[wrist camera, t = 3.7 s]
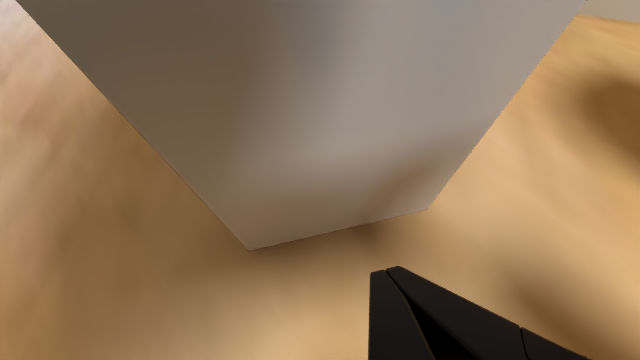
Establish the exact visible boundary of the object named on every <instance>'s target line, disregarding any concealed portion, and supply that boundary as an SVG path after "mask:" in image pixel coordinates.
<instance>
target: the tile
mask: <svg viewBox="0 0 640 360" xmlns="http://www.w3.org/2000/svg"><path fill="white" fill-rule="evenodd" d="M16 1H17V2H18V3H19V4H20V5H21V7H22V8H23V9H24V10H25V11H26V12H27V13H28V14H29V15H30V16H31V17H32V18H33V19H34V21H35V22H36V23H37V24H38V25H39V26H40V27H41V28H42V29H43V30H44V31H45V32H46V33H47V34H48V36H49V37H50V38H51V39H52V40H53V41H54V42H55V43H56V44H57V45H58V46H59V47H60V48H61V50H62V51H63V52H64V53H65V54H66V55H67V56H68V57H69V58H70V59H71V60H72V61H73V62H74V64H75V65H76V66H77V67H78V68H79V69H80V70H81V71H82V72H83V73H84V74H85V75H86V76H87V78H88V79H89V80H90V81H91V82H92V83H93V84H94V85H95V86H96V87H97V88H98V89H99V90H100V92H101V93H102V94H103V95H104V96H105V97H106V98H107V99H108V100H109V101H110V102H111V103H112V104H113V106H114V107H115V108H116V109H117V110H118V111H119V112H120V113H121V114H122V115H123V116H124V117H125V118H126V119H127V121H128V122H129V123H130V124H131V125H132V126H133V127H134V128H135V129H136V130H137V131H138V132H139V133H140V135H141V136H142V137H143V138H144V139H145V140H146V141H147V142H148V143H149V144H150V145H151V146H152V147H153V149H154V150H155V151H156V152H157V153H158V154H159V155H160V156H161V157H162V158H163V159H164V160H165V161H166V163H167V164H168V165H169V166H170V167H171V168H172V169H173V170H174V171H175V172H176V173H177V174H178V175H179V177H180V178H181V179H182V180H183V181H184V182H185V183H186V184H187V185H188V186H189V187H190V188H191V189H192V191H193V192H194V193H195V194H196V195H197V196H198V197H199V198H200V199H201V200H202V201H203V202H204V203H205V205H206V206H207V207H208V208H209V209H210V210H211V211H212V212H213V213H214V214H215V215H216V216H217V217H218V218H219V220H220V221H221V222H222V223H223V224H224V225H225V226H226V227H227V228H228V229H229V230H230V231H231V232H232V234H233V235H234V236H235V237H236V238H237V239H238V240H239V241H240V242H241V243H242V244H243V245H244V246H245V248H246V249H247V250H248V251H252V250H256V249H260V248H265V247H269V246H273V245H278V244H282V243H286V242H290V241H295V240H299V239H303V238H308V237H312V236H316V235H320V234H325V233H329V232H333V231H337V230H342V229H346V228H350V227H355V226H359V225H363V224H367V223H372V222H376V221H380V220H385V219H389V218H393V217H397V216H402V215H406V214H410V213H415V212H419V211H423V210H427V209H428V207H429V206H430V205H431V203H432V202H433V201H434V200H435V198H436V197H437V196H438V194H439V193H440V192H441V190H442V189H443V188H444V186H445V185H446V184H447V183H448V181H449V180H450V179H451V177H452V176H453V175H454V173H455V172H456V171H457V169H458V168H459V167H460V166H461V164H462V163H463V162H464V160H465V159H466V158H467V156H468V155H469V154H470V153H471V151H472V150H473V149H474V147H475V146H476V145H477V143H478V142H479V141H480V139H481V138H482V137H483V136H484V134H485V133H486V132H487V130H488V129H489V128H490V126H491V125H492V124H493V122H494V121H495V120H496V119H497V117H498V116H499V115H500V113H501V112H502V111H503V109H504V108H505V107H506V105H507V104H508V103H509V102H510V100H511V99H512V98H513V96H514V95H515V94H516V92H517V91H518V90H519V88H520V87H521V86H522V85H523V83H524V82H525V81H526V79H527V78H528V77H529V75H530V74H531V73H532V72H533V70H534V69H535V68H536V66H537V65H538V64H539V62H540V61H541V60H542V58H543V57H544V56H545V55H546V53H547V52H548V51H549V49H550V48H551V47H552V45H553V44H554V43H555V41H556V40H557V39H558V38H559V36H560V35H561V34H562V32H563V31H564V30H565V28H566V27H567V26H568V24H569V23H570V22H571V21H572V19H573V18H574V17H575V15H576V14H577V13H578V11H579V10H580V9H581V7H582V6H583V5H584V4H585V2H586V1H587V0H16Z"/></svg>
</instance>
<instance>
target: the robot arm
mask: <svg viewBox="0 0 640 360" xmlns="http://www.w3.org/2000/svg"><path fill="white" fill-rule="evenodd" d="M368 360H592V359H590V358H587V357H585V356H583V355H581V354H578V353H576V352H574V351H571V350H569V349H567V348H565V347H563V346H561V345H559V344H557V343H554V342H552V341H550V340H548V339H546V338H544V337H542V336H540V335H538V334H536V333H534V332H532V331H530V330H528V329H526V328H524V327H521V328H520V327H519V325H517V324H515V323H513V322H511V321H509V320H507V319H505V318H503V317H501V316H499V315H497V314H495V313H493V312H491V311H489V310H487V309H485V308H483V307H481V306H479V305H477V304H475V303H473V302H471V301H469V300H467V299H465V298H463V297H461V296H459V295H457V294H455V293H453V292H451V291H449V290H447V289H445V288H443V287H441V286H439V285H437V284H435V283H433V282H431V281H429V280H427V279H425V278H423V277H421V276H419V275H417V274H415V273H413V272H411V271H409V270H407V269H405V268H403V267H400V266H396V267H392V268H388V269H386V270H380V271H375V272H372V273H371V274H370V296H369V338H368Z"/></svg>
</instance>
